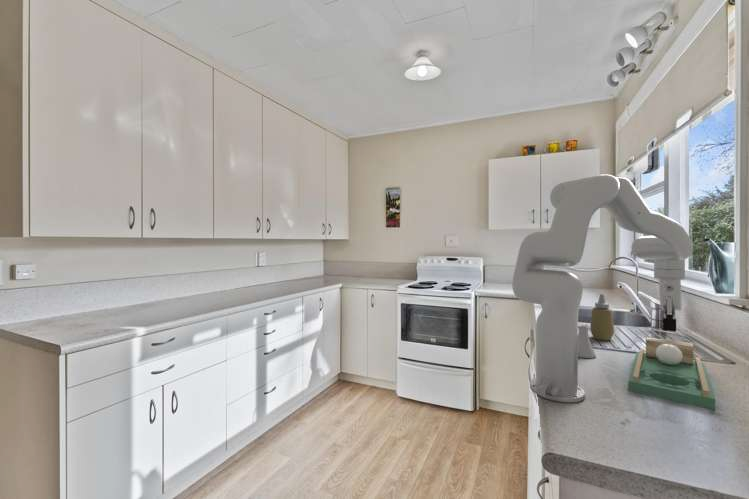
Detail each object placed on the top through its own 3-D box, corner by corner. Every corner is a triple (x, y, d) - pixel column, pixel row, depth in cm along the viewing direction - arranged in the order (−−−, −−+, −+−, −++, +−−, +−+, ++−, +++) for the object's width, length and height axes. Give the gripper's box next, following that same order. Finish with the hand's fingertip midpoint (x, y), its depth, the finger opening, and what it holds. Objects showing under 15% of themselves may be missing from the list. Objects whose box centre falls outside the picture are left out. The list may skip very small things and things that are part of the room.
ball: (682, 369, 94) (683, 348, 94) (655, 364, 98) (655, 344, 98) (682, 363, 99) (682, 343, 99) (655, 359, 103) (655, 340, 103)
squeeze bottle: (591, 335, 139) (591, 292, 139) (615, 338, 134) (615, 293, 134) (588, 339, 133) (588, 294, 133) (613, 343, 128) (613, 296, 128)
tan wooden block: (646, 353, 108) (646, 337, 108) (692, 360, 101) (692, 343, 100) (645, 356, 105) (645, 339, 105) (693, 364, 98) (693, 346, 97)
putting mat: (636, 359, 110) (636, 347, 110) (704, 371, 99) (704, 358, 99) (628, 390, 87) (628, 375, 87) (715, 409, 77) (715, 392, 77)
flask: (600, 359, 111) (600, 329, 111) (578, 359, 111) (578, 329, 111) (587, 352, 118) (587, 323, 118) (566, 352, 118) (566, 324, 118)
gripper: (685, 276, 100) (686, 337, 100) (684, 272, 111) (684, 327, 111) (653, 275, 105) (653, 333, 105) (654, 271, 116) (655, 324, 116)
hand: (669, 330), depth 108 cm, fingers closed
